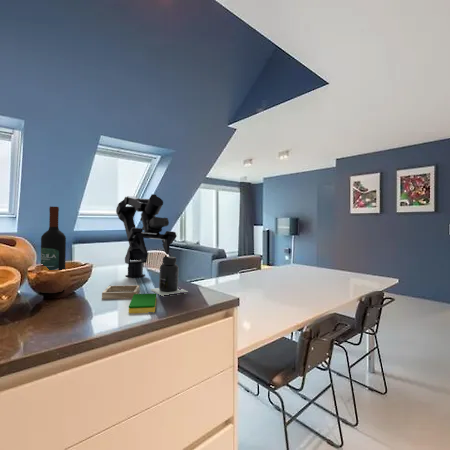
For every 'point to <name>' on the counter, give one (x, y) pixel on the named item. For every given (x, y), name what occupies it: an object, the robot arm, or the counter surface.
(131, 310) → the dish sponge
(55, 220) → the wine bottle
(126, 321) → the counter surface
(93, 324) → the counter surface
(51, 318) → the counter surface
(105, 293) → the frame
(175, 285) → the supplement bottle
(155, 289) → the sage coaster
